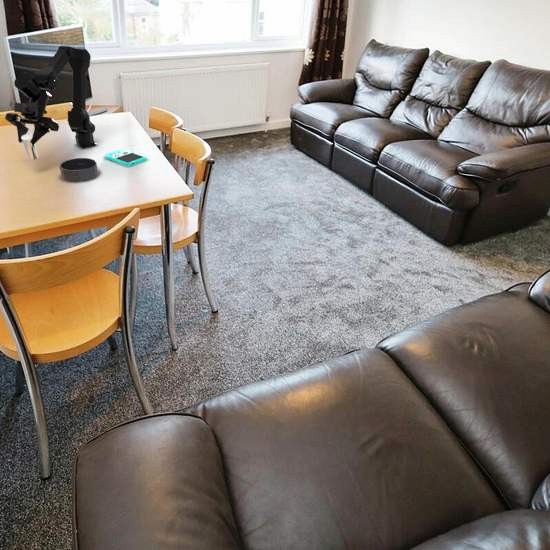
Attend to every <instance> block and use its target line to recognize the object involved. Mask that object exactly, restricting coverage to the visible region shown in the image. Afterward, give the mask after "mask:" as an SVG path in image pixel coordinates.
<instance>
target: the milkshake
mask: <svg viewBox="0 0 550 550" xmlns="http://www.w3.org/2000/svg"><path fill="white" fill-rule="evenodd" d="M20 133H21V134H22V132H21V131H20ZM32 137H33V133H27V134H25V135H23V134H22V137H21V139H22V144H23V147H24V150H25V152H26V155H27V158H28V160H30V161H34V160H37V159H39V154H38V149H37V142H36V143H35V144H34V145H33V144H32V143H31V142H32Z"/></svg>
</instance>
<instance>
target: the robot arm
mask: <svg viewBox="0 0 550 550" xmlns="http://www.w3.org/2000/svg"><path fill="white" fill-rule="evenodd" d="M91 59H92V57H91V54H90V52H89V51H88V50H87V49H86V48H76V47H73V46H70V45H59V46H58V48H57V51H56V52H55V53H54V54H53V56H52V58H51V59H50V60H49V61H48V63H47V64H46V65H45V66H44V67H41V68H40V69H37V71H35V72H34V73H33V75H32V76H31V74H30V73H29V72H25V71H23V72H21V73H22V74H21V75H20V74H19V75H18V76H17V77H16V78H15V79H14V83H13V84H14V87H15V88H16V89H17V90H18V91H19V92H21V93H22V94H23V95H24V96H25V97H27V98H29V101H28V102H27V101H26V102H25V103H22V102H13V103H14V104H13V105H14V106H13V111H14V112H7V113H6V114H5V117H4V119H5V120H6V121H7V122H9V123H10V124H12V126H13V127H16V130H17V138H18V140H17V141H18V143H20V144H23V142H22V139H21V137H22V134H23V135H25V134H28V132H29V130H30V129H29V128H28V127H27V125H33V127H34V129H33V133H32V135H33V137H32V142H31V143H32V144H33V145H34V144H35V143H36V144H37V142H39V141H40V139H42V138H43V137H44V136H46V134H48V133H50V132H59V129H60V125H59V123H58V122H57V121H56V120H54V119H53V118H52V117H50V116H44V115H47V114H48V111H47V110H46V108H47V105H48V102H49V101H53V97H52V95H51V93H50V92H49V91H53V90H55V89H56V87H57V85H58V83H59V75H60V74H61V72H62V71H63V69H64V68H65V66H67V64H68V65H69V67H70V68H71V70H72V108H71V109H70V110H68V111H67V123H68V124H67V125H68V127H69V129H70V131H71V132H72V133H75V136H74V137H75V145H76V146H77V147H80V148H81V149H87V148H91V147H96V146H97V143H95V138H94V133H95V132H96V125H95V124H94V123H92V121H91V119H90V114H89V112H88V111H87V109H86V105H87V104H86V96H87V95H86V94H87V93H86V92H87V91H86V89H87V88H86V84H87V83H86V82H87V81H86V80H87V79H86V78H87V77H86V76H87V75H86V74H87V72H88V70H89V68H90V66H91ZM46 90H47V91H46ZM18 113H20V114H18ZM20 131H21V132H22V134H21V133H20Z"/></svg>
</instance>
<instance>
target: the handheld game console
mask: <svg viewBox="0 0 550 550" xmlns="http://www.w3.org/2000/svg"><path fill="white" fill-rule="evenodd" d="M104 156H105V159H106V160H109V161H112V162H115V163H117V164H120V165H122V166H125V167H131V166H134V165H137V164H140V163H142V162H145V161H147V156H143V155H141V154H137V153H135V152H132V151H130V150H126V149H123V148H119V149H116V150H113V151H110V152H108V153H106V154H105V155H104Z"/></svg>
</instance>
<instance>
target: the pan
mask: <svg viewBox="0 0 550 550" xmlns="http://www.w3.org/2000/svg"><path fill="white" fill-rule="evenodd" d="M58 167H59V171H60V176H61V179H62V180H63V181H66V182H69V183H84V182H89V181H92V180H94V179H96V178H97V177H98V176H99V168H98V163H97V161H96V160H95V159H92V158H87V157H76V158H70V159H67V160H64V161H62V162H60V163H59V166H58Z"/></svg>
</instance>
